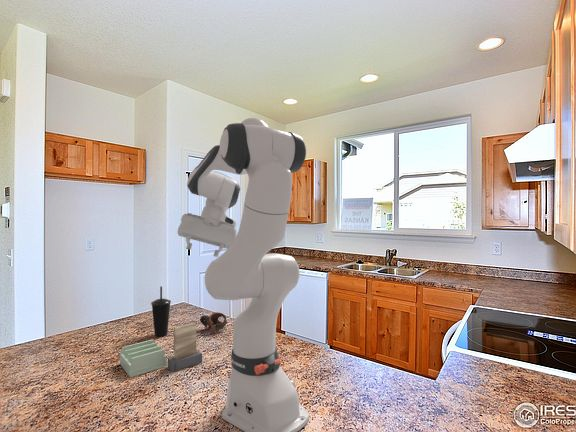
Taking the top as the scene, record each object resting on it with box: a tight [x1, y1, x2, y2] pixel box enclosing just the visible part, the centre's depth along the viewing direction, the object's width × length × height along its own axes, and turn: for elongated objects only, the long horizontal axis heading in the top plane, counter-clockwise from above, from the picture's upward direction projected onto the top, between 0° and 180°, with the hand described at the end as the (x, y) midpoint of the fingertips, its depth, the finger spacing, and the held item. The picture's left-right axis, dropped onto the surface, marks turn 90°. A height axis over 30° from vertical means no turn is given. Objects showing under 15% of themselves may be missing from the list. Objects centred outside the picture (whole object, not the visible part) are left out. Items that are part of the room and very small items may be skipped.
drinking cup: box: [150, 285, 172, 338], centre depth 130 cm, size 8×8×20 cm
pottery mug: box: [199, 312, 228, 334], centre depth 136 cm, size 12×10×8 cm
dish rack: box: [119, 338, 168, 378], centre depth 103 cm, size 12×11×6 cm
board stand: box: [167, 348, 203, 373], centre depth 104 cm, size 4×10×3 cm, turn 132°
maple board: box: [173, 322, 197, 360], centre depth 104 cm, size 2×7×13 cm, turn 132°
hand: (202, 252), depth 107 cm, fingers open, 8 cm apart
